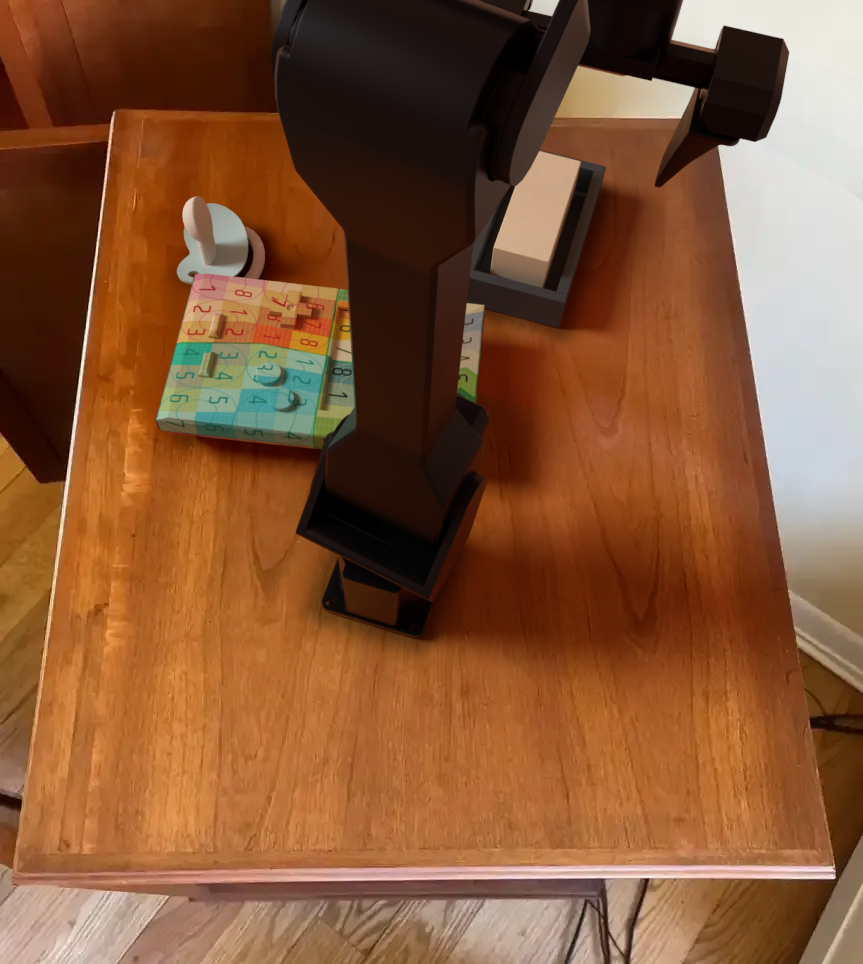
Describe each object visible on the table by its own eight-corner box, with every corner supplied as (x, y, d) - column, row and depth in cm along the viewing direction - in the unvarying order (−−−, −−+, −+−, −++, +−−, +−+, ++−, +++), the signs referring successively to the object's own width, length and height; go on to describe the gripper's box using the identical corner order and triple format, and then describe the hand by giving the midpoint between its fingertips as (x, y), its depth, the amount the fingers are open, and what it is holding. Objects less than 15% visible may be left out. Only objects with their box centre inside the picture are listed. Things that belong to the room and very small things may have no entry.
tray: (558, 328, 73) (565, 302, 70) (457, 301, 74) (460, 275, 71) (599, 194, 79) (606, 165, 77) (505, 170, 80) (509, 141, 77)
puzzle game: (191, 265, 69) (486, 296, 68) (203, 308, 73) (480, 337, 72) (152, 412, 63) (472, 446, 63) (166, 449, 67) (467, 482, 67)
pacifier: (270, 229, 77) (189, 223, 76) (264, 167, 71) (177, 161, 71) (260, 307, 73) (176, 302, 73) (253, 249, 68) (162, 243, 67)
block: (549, 261, 70) (581, 161, 75) (493, 247, 71) (529, 147, 75) (541, 298, 74) (572, 199, 78) (488, 283, 74) (522, 186, 79)
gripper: (843, -120, 54) (748, 113, 68) (502, -191, 56) (478, 50, 69) (822, 13, 49) (725, 235, 62) (448, -71, 50) (433, 164, 64)
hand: (587, 165), depth 65 cm, fingers open, 9 cm apart
